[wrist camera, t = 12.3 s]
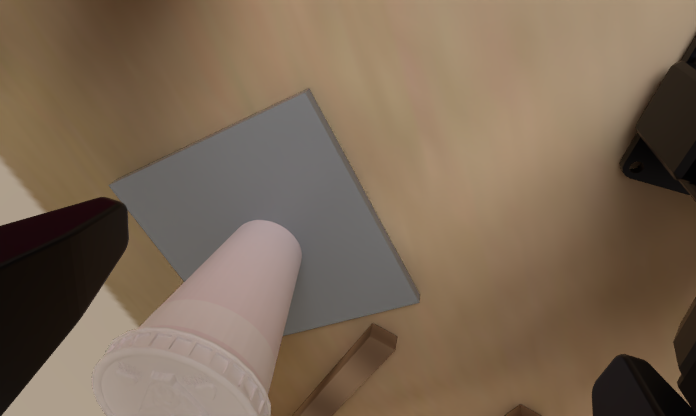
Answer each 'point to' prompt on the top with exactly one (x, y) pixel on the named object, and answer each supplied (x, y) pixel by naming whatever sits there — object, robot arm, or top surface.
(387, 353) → the lane
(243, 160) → the plate
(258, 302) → the smoothie
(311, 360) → the top surface
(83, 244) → the robot arm
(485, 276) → the top surface
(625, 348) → the top surface
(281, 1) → the top surface
